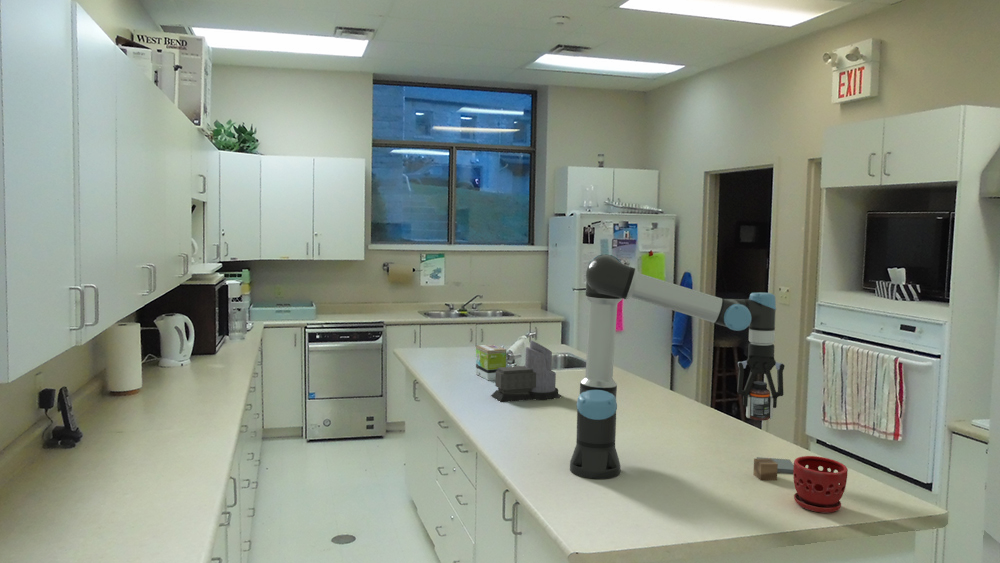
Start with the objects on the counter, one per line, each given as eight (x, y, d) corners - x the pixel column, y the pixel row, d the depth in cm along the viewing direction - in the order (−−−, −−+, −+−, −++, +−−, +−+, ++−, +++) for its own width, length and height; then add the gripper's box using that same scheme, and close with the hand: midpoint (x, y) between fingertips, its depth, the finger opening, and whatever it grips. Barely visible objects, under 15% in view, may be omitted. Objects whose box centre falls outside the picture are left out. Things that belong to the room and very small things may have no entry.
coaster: (796, 473, 219) (796, 469, 219) (761, 471, 221) (762, 467, 221) (789, 463, 229) (789, 459, 229) (756, 460, 231) (756, 457, 231)
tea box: (475, 374, 356) (475, 344, 354) (493, 373, 360) (494, 343, 359) (487, 380, 342) (487, 349, 341) (506, 379, 346) (507, 348, 345)
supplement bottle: (753, 415, 228) (754, 379, 227) (772, 418, 224) (773, 382, 223) (745, 418, 223) (747, 382, 222) (765, 422, 219) (766, 385, 219)
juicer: (551, 390, 325) (552, 336, 323) (567, 398, 310) (568, 341, 308) (488, 395, 314) (489, 339, 312) (502, 403, 299) (503, 345, 297)
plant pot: (783, 506, 193) (785, 462, 192) (804, 494, 203) (806, 452, 202) (833, 521, 184) (836, 475, 183) (852, 507, 193) (855, 463, 192)
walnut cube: (776, 480, 213) (777, 464, 213) (760, 480, 213) (761, 464, 213) (769, 474, 218) (770, 458, 218) (753, 474, 218) (754, 458, 218)
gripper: (791, 342, 224) (789, 415, 225) (727, 340, 227) (725, 412, 229) (796, 346, 216) (794, 422, 218) (730, 344, 220) (728, 419, 222)
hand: (759, 417), depth 224 cm, fingers closed on supplement bottle, 6 cm apart
